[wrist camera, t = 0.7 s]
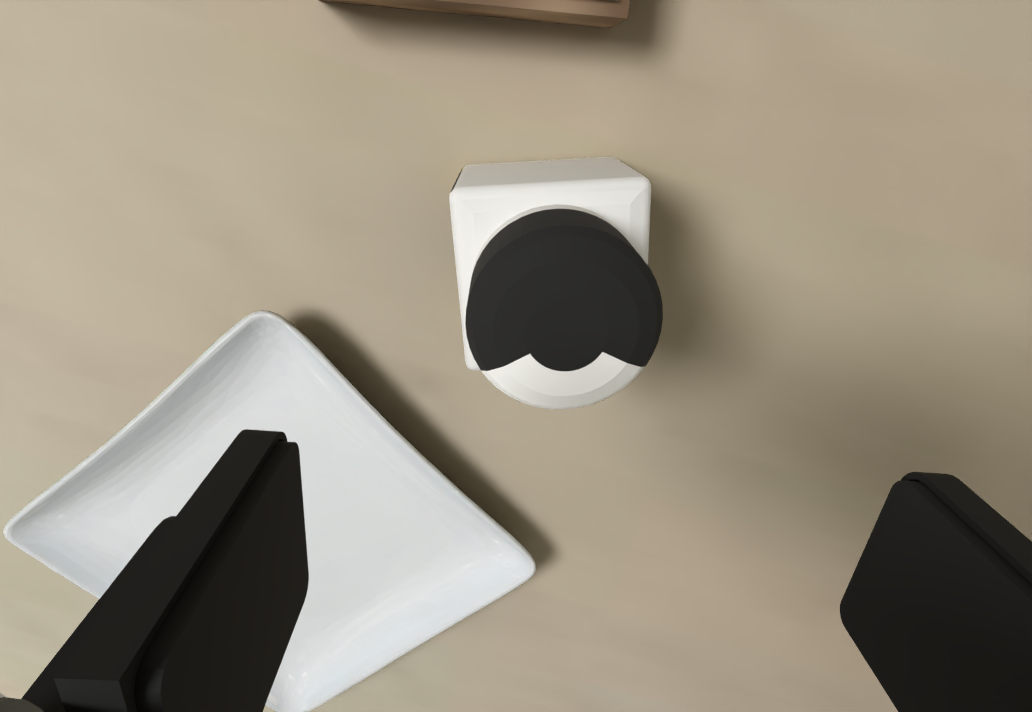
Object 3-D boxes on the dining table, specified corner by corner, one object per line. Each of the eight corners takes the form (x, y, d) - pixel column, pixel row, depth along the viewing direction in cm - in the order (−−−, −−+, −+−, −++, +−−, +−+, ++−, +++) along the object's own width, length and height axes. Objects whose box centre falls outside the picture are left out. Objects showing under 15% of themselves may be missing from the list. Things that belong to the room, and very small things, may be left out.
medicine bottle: (460, 164, 27) (431, 218, 16) (617, 155, 26) (697, 203, 16) (473, 311, 30) (457, 442, 19) (614, 303, 30) (679, 429, 19)
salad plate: (543, 533, 36) (547, 576, 33) (305, 681, 41) (290, 729, 38) (286, 277, 29) (260, 300, 26) (37, 495, 34) (-9, 536, 31)
